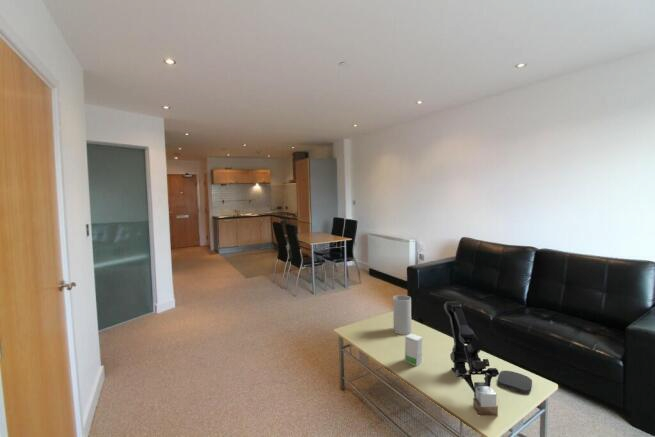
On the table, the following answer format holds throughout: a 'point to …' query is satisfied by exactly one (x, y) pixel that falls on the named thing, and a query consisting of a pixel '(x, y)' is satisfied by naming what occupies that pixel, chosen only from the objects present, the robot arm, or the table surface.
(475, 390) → the plunger
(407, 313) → the cylinder vase
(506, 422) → the table surface
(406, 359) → the skincare box
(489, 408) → the grey brown block
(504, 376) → the media streaming box
